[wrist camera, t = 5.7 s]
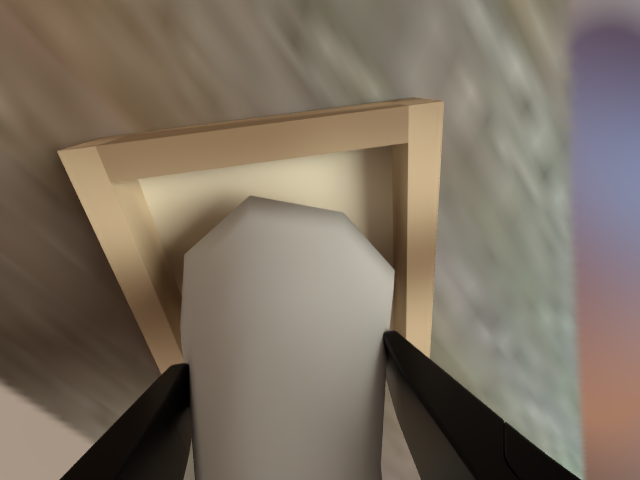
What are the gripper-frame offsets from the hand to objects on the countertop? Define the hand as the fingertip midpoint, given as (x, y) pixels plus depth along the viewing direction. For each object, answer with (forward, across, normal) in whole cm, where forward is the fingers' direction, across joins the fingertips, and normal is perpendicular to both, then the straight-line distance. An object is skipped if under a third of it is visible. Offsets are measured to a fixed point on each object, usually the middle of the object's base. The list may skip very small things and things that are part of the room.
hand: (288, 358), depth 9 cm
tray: (+5, 0, 0) cm, 5 cm away
